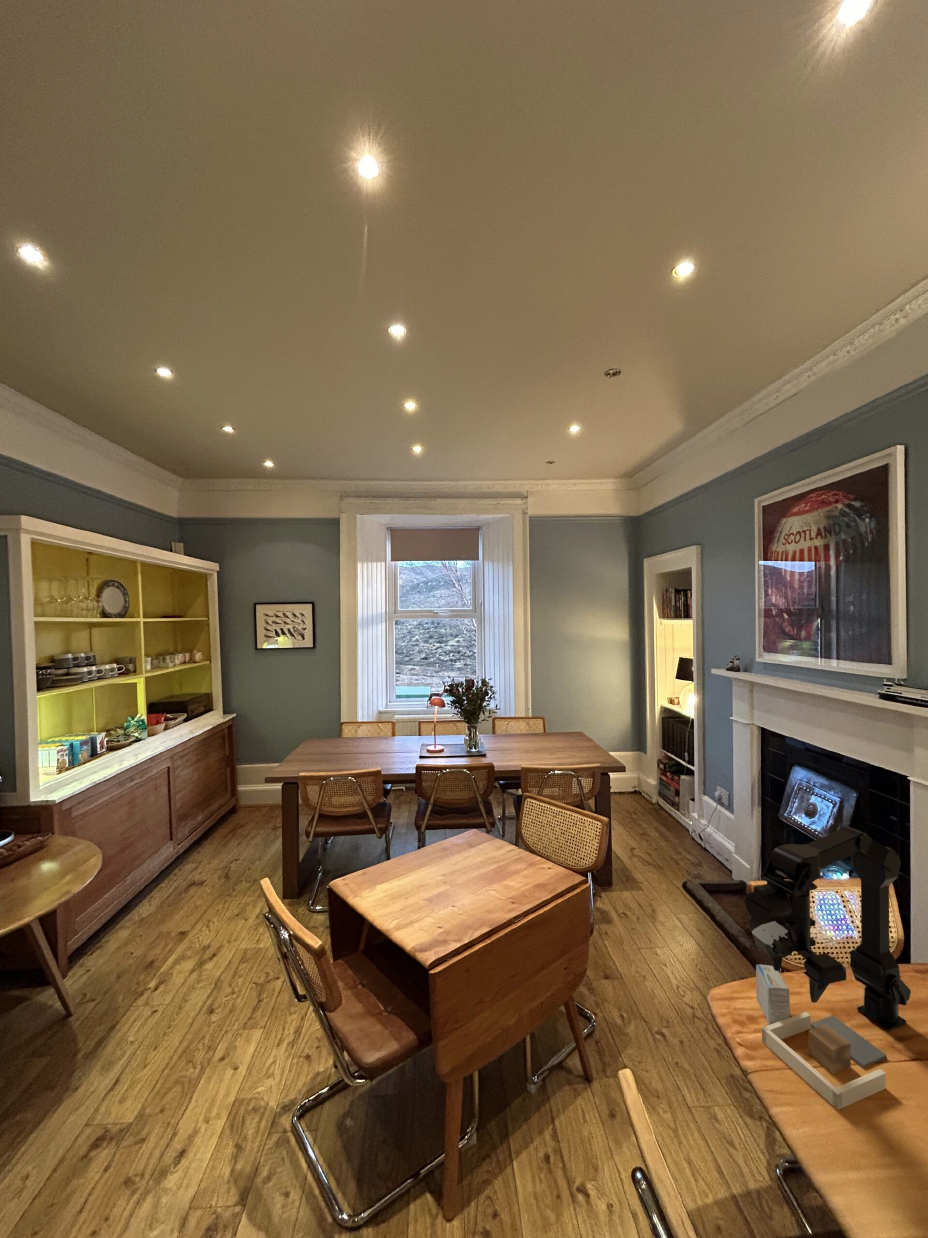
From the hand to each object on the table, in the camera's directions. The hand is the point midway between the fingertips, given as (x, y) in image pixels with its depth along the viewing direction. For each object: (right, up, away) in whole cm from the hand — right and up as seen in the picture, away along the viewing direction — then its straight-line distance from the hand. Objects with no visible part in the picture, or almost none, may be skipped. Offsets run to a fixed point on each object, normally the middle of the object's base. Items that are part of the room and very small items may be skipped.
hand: (794, 985), depth 106 cm
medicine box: (+2, -14, +11) cm, 18 cm away
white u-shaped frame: (+4, -14, -3) cm, 15 cm away
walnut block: (+6, -14, -2) cm, 15 cm away
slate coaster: (+13, -14, +3) cm, 19 cm away
